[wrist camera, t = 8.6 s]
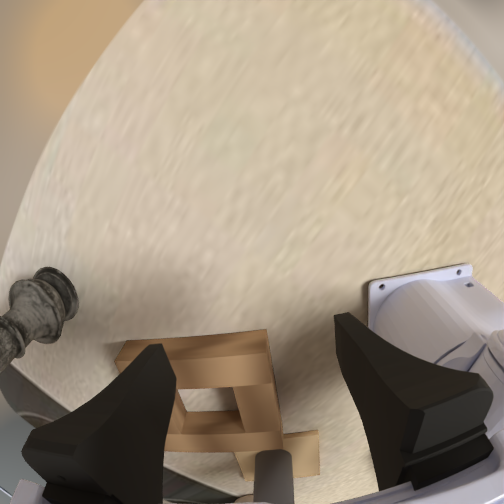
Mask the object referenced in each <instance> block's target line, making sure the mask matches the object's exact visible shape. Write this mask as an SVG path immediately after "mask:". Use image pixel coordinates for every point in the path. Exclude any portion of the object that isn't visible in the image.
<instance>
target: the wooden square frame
mask: <svg viewBox="0 0 504 504" xmlns="http://www.w3.org/2000/svg"><path fill="white" fill-rule="evenodd" d="M158 343H162V345H163V347H164V350H165V352H166V354H167V357H168V359H169V362H170V364H171V366H172V369H173V371H174V373H175V375H176V378H177V381H176V394H175V401H174V406H173V410H172V414H171V419H170V423H169V427H168V432H167V436H166V442H165V448H164V451H173V452H247V451H263V450H276V449H283V426H282V420H281V414H280V408H279V402H278V396H277V390H276V384H275V378H274V372H273V366H272V360H271V354H270V348H269V342H268V336H267V330H266V329H265V330H256V331H248V332H238V333H228V334H218V335H207V336H195V337H182V338H167V339H150V340H130V341H126V343H125V345H124V346H123V348H122V349H121V351H120V353H119V354H118V356H117V358H116V359H115V361H114V362H115V364H116V366H117V368H118V370H119V372H120V374H121V373H122V372H123V371H124V369H125V368H126V367H127V366H128V365H129V364H130V363H131V362H132V361H133V360H134V359H135V358H136V357H137V356H138V355H139V354H140V353H141V352H142V351H143V350H144V349H145V348H146V347H147V346H148V345H149V344H158ZM220 387H233V391H234V395H235V398H236V402H237V405H238V409H239V410H234V411H212V412H187V411H186V409H185V407H184V404H183V402H182V400H181V397H180V395H179V392H178V390H177V389H200V388H220Z"/></svg>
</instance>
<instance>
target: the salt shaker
mask: <svg viewBox="0 0 504 504" xmlns="http://www.w3.org/2000/svg"><path fill="white" fill-rule="evenodd" d="M9 305H10V310H9V311H8V312H7V313H6V314H4V315H3V316H2V317H1V316H0V373H1V372H2V371H3V370H4V369H5V368H6V367H7V366H8V365H9V363H10V362H11V361H12V360H13V359H14V358H21V357H23V356H24V354H25V348H26V347H27V346H28V344H29V343H30V342H31V341H32V340H35V341H37V342H40V343H44V344H51V343H54V342H55V341H57V340H58V339H59V337H60V336H61V332H62V328H63V324H64V321H67V320H70V319H72V318H73V317H74V316H75V314H76V313H77V310H78V296H77V293H76V290H75V288H74V286H73V284H72V283H71V281H70V280H69V279H68V278H67V277H66V276H65V275H64V274H63V273H62V272H60V271H59V270H57V269H55V268H52V267H44V268H41V269H40V270H38V271H37V272H36V274H35V276H34V278H33V279H28V280H20V281H17V282H15V283H14V284H13V285H12V287H11V289H10V291H9Z"/></svg>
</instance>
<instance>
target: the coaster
mask: <svg viewBox="0 0 504 504" xmlns="http://www.w3.org/2000/svg"><path fill="white" fill-rule="evenodd" d="M283 450H286V451H288V452H289V453H290V454H291V455H292V467H293V478H299V477H308V476H315V475H320V461H319V433H318V430H315V431H308V432H300V433H292V434H283ZM259 452H260V451H247V452H234V453H235V456H236V458H237V461H238V463H239V466H240V469H241V471H242V474H243V476H244V479H245V481H254V473H255V456H256V454H257V453H259Z"/></svg>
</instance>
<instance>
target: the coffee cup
mask: <svg viewBox="0 0 504 504" xmlns="http://www.w3.org/2000/svg"><path fill="white" fill-rule="evenodd" d="M245 502H253V495H246V496H243V497H240V498H238V499H237V500H236V501H235V503H245Z"/></svg>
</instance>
